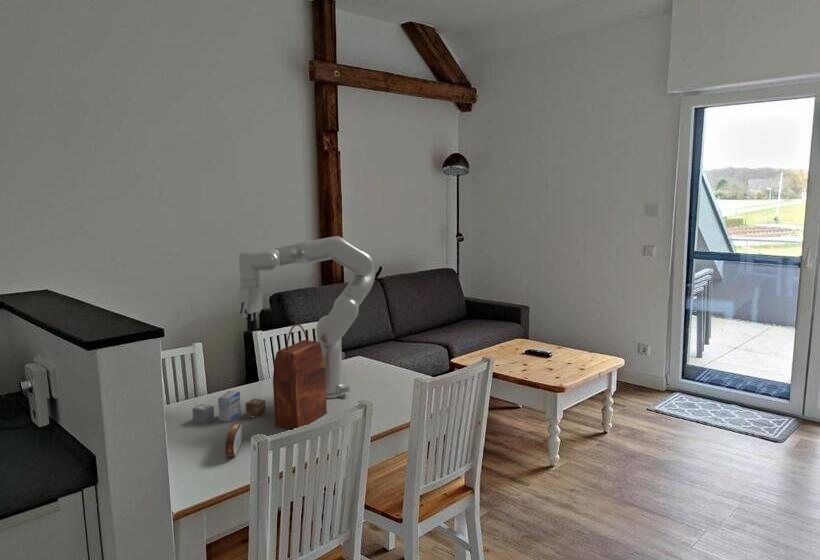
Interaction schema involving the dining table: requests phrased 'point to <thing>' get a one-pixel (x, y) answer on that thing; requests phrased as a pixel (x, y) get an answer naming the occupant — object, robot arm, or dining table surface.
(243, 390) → the dining table surface
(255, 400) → the walnut block
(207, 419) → the slate-grey block
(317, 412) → the handbag
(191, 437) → the dining table surface
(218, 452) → the dining table surface
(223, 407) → the medicine box
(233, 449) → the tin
